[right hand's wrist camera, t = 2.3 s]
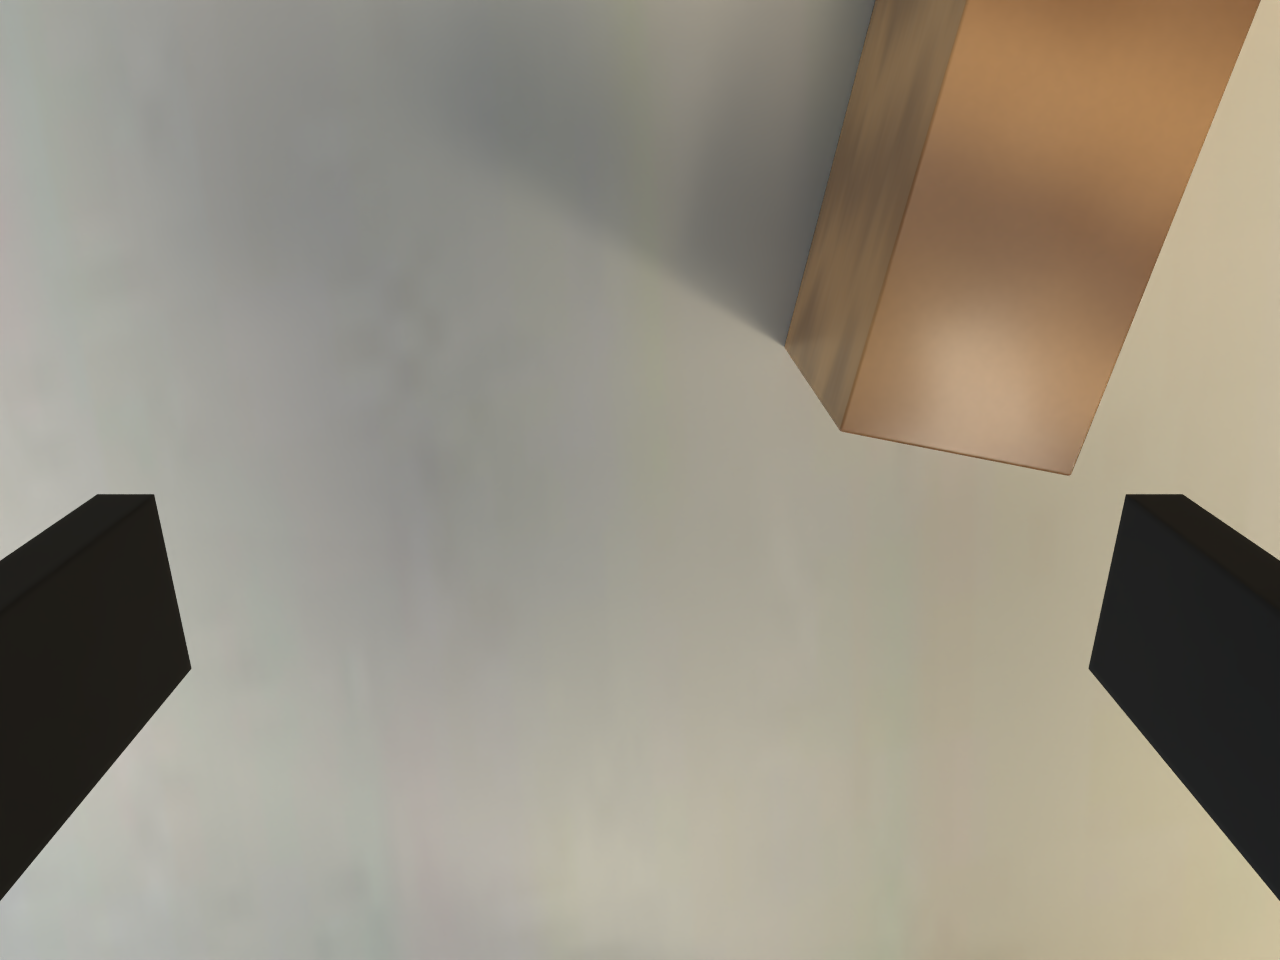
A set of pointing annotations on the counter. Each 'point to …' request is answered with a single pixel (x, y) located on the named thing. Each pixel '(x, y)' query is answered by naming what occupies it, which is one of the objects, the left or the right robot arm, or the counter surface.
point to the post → (1003, 214)
